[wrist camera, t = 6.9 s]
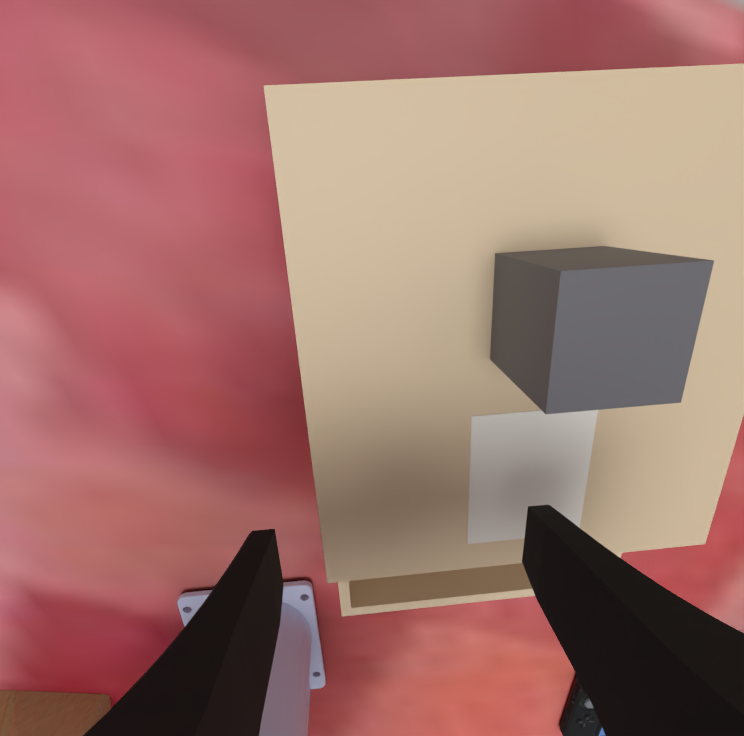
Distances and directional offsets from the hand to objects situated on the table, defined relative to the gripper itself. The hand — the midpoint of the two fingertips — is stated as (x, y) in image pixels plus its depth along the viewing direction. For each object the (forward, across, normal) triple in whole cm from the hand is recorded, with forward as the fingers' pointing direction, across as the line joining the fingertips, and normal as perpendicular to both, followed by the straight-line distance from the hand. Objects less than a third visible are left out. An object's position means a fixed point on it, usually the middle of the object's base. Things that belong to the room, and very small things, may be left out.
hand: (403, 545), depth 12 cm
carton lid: (+2, -4, -4) cm, 7 cm away
